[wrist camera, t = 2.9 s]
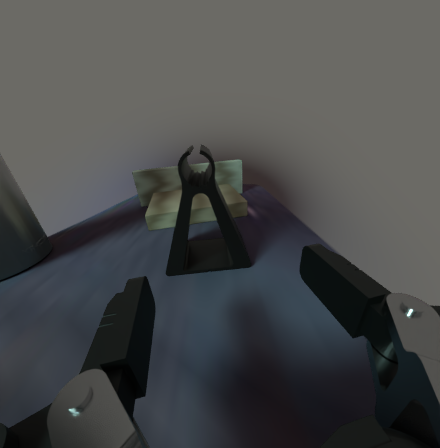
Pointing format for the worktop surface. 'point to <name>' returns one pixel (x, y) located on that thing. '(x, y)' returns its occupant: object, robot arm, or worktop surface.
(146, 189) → the wall board
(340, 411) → the worktop surface
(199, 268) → the phone stand
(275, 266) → the worktop surface
